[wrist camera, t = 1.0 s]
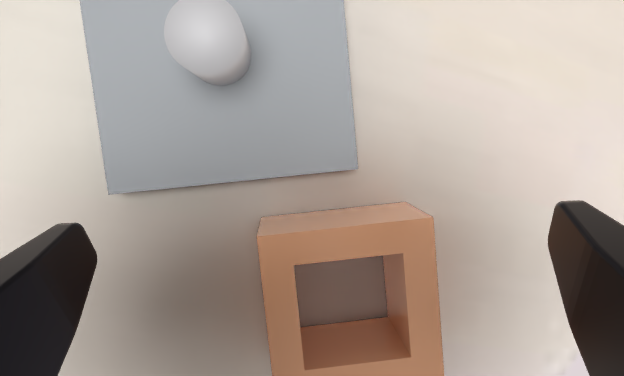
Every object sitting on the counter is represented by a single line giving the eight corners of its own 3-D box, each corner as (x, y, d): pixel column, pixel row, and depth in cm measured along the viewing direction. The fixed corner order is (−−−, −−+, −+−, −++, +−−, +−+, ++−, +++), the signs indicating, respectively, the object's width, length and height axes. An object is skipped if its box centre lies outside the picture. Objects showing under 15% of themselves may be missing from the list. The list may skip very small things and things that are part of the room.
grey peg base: (352, 166, 21) (377, 178, 16) (121, 190, 21) (63, 210, 15) (331, -74, 20) (350, -153, 14) (85, -56, 19) (8, -129, 14)
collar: (415, 338, 22) (444, 383, 18) (276, 355, 22) (275, 404, 18) (405, 201, 21) (433, 217, 17) (261, 217, 21) (256, 236, 17)
